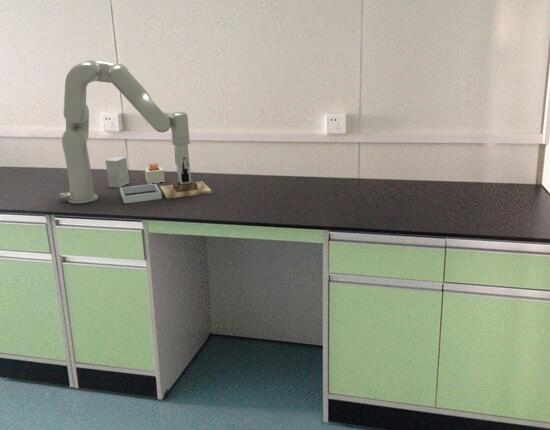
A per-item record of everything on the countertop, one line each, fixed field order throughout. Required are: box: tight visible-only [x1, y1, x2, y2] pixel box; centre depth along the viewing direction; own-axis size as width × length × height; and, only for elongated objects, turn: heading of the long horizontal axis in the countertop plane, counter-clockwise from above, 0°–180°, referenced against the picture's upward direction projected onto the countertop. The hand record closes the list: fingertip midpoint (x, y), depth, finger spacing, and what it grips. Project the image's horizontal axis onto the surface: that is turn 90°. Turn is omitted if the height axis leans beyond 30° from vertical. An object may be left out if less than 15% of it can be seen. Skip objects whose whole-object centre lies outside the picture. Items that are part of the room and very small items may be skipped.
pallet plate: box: [159, 178, 212, 200], centre depth 250 cm, size 20×18×4 cm
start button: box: [148, 162, 159, 171], centre depth 266 cm, size 4×4×3 cm
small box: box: [104, 156, 130, 189], centre depth 262 cm, size 8×6×13 cm
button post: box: [144, 166, 165, 185], centre depth 267 cm, size 8×8×6 cm
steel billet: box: [176, 163, 192, 185], centre depth 248 cm, size 5×5×10 cm
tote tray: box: [119, 183, 163, 204], centre depth 243 cm, size 16×16×3 cm
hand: (184, 180), depth 249 cm, fingers closed on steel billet, 5 cm apart
